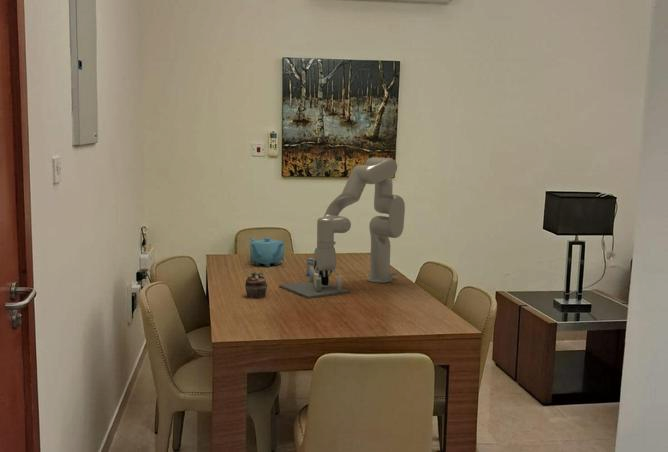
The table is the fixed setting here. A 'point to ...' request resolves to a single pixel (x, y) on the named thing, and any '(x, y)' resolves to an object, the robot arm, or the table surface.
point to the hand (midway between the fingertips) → (324, 284)
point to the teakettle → (266, 251)
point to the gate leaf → (317, 281)
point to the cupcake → (256, 286)
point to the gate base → (310, 291)
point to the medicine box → (310, 264)
